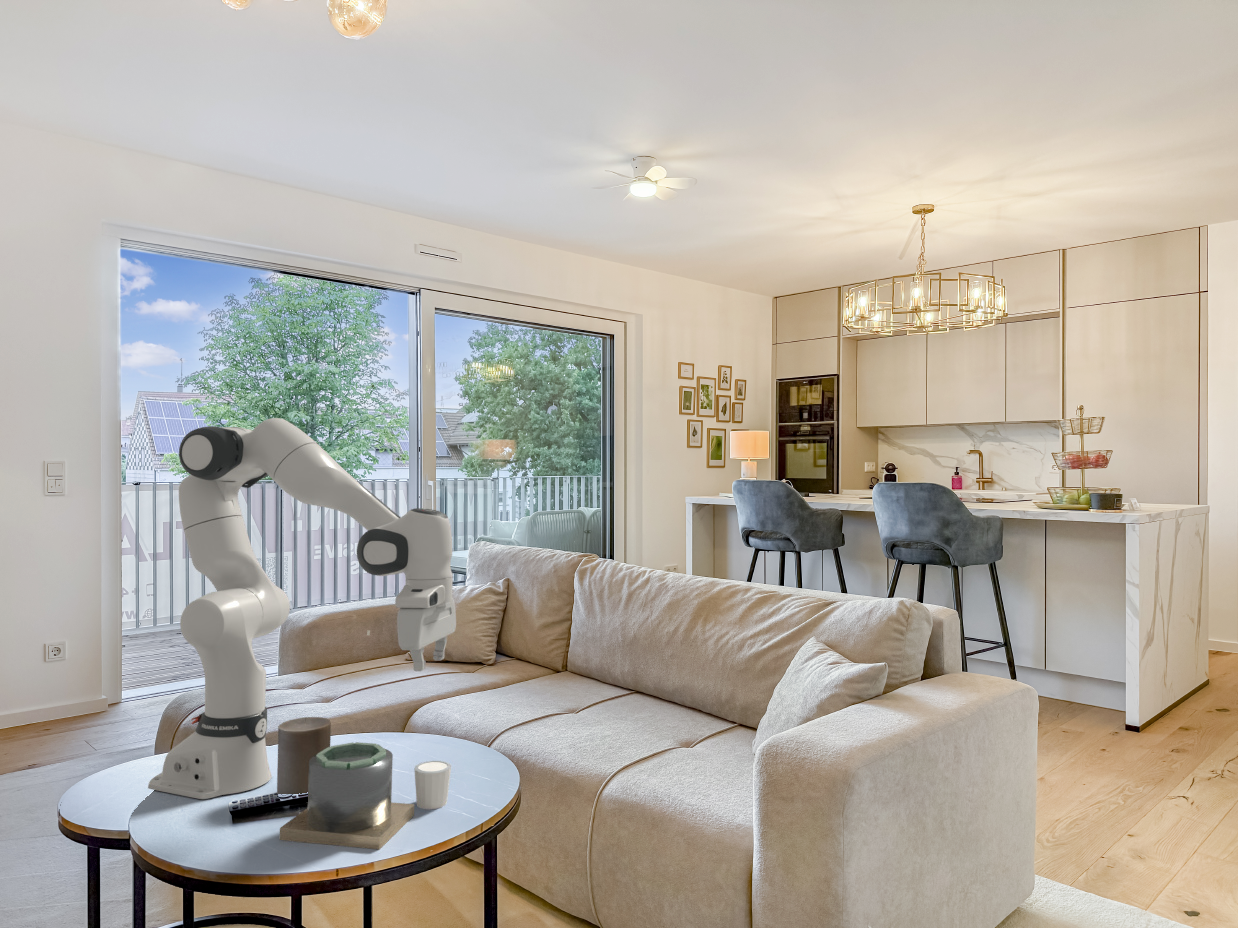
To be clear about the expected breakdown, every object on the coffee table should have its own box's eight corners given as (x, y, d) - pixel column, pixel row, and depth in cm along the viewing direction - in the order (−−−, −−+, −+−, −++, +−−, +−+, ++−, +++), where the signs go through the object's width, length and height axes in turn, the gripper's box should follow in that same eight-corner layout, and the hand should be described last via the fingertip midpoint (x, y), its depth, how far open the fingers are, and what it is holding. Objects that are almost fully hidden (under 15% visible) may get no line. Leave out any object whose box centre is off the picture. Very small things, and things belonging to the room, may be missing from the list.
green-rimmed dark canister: (279, 839, 134) (282, 762, 135) (322, 807, 148) (324, 736, 148) (379, 849, 131) (381, 769, 132) (414, 815, 145) (416, 743, 146)
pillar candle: (340, 788, 157) (341, 712, 158) (308, 806, 148) (310, 725, 149) (298, 783, 160) (300, 708, 161) (264, 801, 151) (266, 721, 151)
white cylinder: (441, 812, 147) (442, 773, 147) (406, 808, 148) (407, 770, 149) (456, 798, 154) (457, 761, 154) (423, 794, 155) (424, 758, 155)
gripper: (434, 586, 164) (434, 653, 163) (390, 599, 143) (391, 676, 143) (463, 586, 163) (464, 654, 162) (424, 599, 142) (424, 677, 142)
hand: (429, 664), depth 152 cm, fingers open, 8 cm apart
